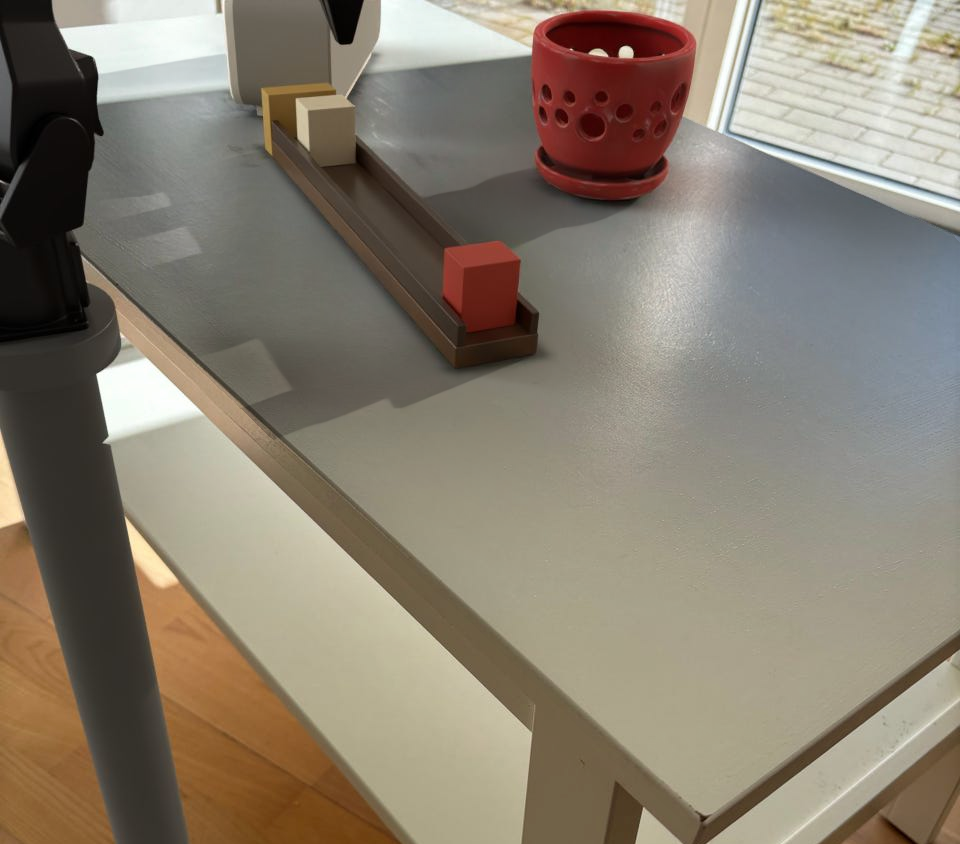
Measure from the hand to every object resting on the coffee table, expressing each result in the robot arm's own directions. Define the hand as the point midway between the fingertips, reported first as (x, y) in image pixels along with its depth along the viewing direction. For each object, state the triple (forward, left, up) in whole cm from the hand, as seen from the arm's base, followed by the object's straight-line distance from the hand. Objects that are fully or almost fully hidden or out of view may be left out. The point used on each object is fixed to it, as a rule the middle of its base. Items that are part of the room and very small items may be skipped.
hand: (344, 43), depth 81 cm
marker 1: (0, +5, -10) cm, 11 cm away
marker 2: (0, -24, -10) cm, 26 cm away
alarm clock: (+7, +29, -12) cm, 32 cm away
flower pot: (+22, -2, -12) cm, 25 cm away
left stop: (0, +12, -12) cm, 16 cm away
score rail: (0, -8, -12) cm, 14 cm away
